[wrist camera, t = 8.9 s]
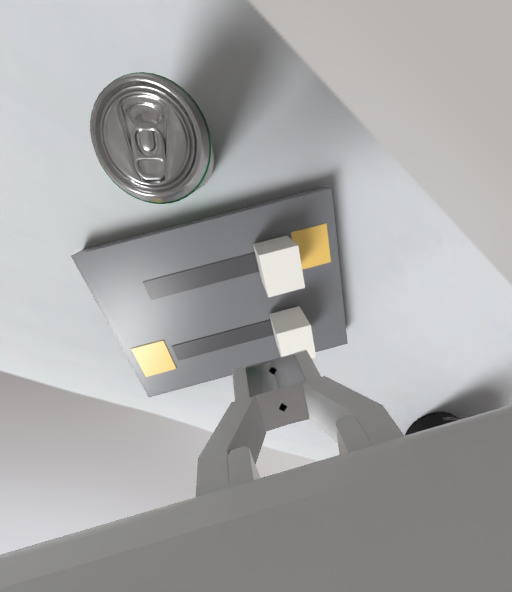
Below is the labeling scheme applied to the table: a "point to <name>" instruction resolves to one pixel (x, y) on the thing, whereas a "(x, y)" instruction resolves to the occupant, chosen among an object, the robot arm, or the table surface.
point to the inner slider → (279, 265)
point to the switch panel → (215, 290)
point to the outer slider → (292, 332)
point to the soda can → (151, 138)
